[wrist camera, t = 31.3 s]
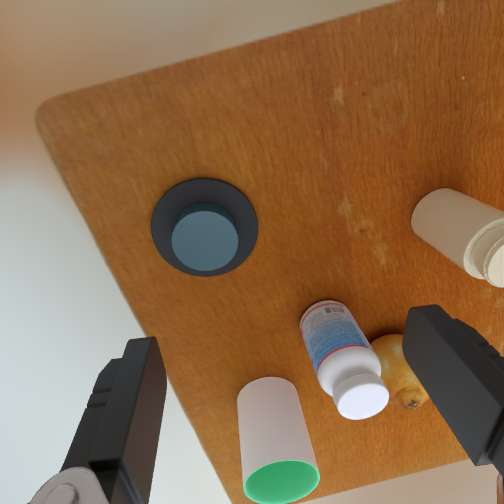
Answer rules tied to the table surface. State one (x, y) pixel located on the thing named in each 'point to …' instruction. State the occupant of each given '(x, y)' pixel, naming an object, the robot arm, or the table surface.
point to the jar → (463, 232)
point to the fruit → (398, 373)
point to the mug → (274, 443)
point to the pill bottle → (343, 360)
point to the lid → (205, 237)
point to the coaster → (202, 193)
